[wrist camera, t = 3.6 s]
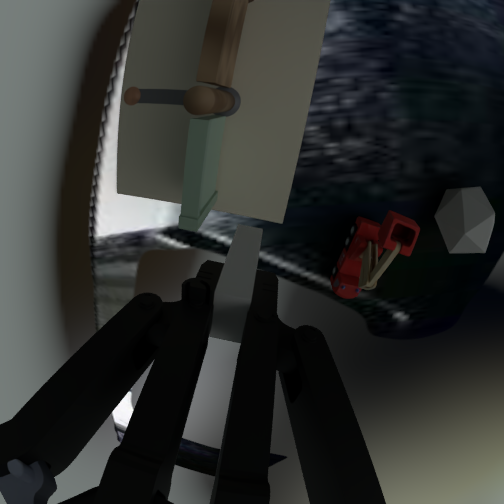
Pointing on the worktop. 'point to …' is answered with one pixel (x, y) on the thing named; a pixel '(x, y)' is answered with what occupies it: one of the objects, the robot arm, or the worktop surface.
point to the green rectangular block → (201, 170)
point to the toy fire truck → (371, 252)
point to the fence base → (218, 58)
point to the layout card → (237, 119)
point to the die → (465, 220)
